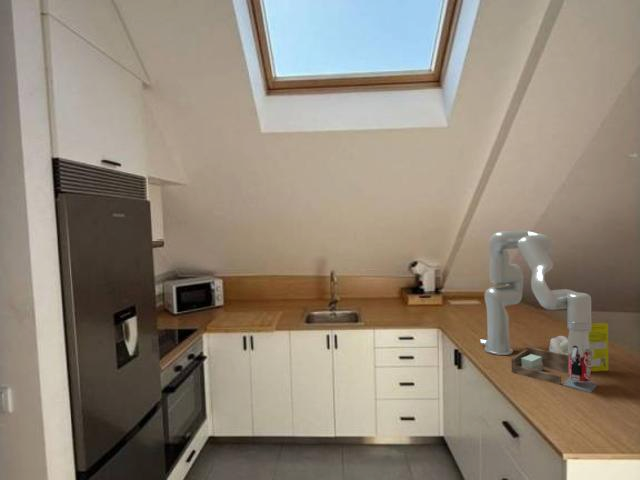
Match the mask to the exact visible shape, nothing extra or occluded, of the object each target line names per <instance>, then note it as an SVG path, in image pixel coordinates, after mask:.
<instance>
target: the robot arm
mask: <svg viewBox="0 0 640 480" xmlns="http://www.w3.org/2000/svg"><path fill="white" fill-rule="evenodd" d="M488 240H489V241H488V249H489V264H488V265H489V268H488V269H489V270H488V277H489V282H491V283H492V284H494V285H498V286H491V287H489V288H487V289H486V290H485V292H484V296H483V297H484V302H485V306H486V307H485V308H486V320H487V321H486V323H487V324H486V325H487V326H486V327H487V330H486V331H487V339H483V338H480V340H479V342H480V345H485V346H484V351H485V352H486V353H488V354H492V355H497V356H509V355H512V354H513V353H514V350H513V348H512V347H510V327H509V326H510V323H509V322H510V319H509V313H508V311H507V309H506V306H513V305H517V304H520V302H521V300H522V298H523V290H524V289H523V286H524V273H523V269H522V268H521V267H520V266H519V265H518V264H516V263H510V255H509V252H508V250H515V249H516V250H517V249H518V250H519V252H520V253H521V256H522V257H523V259H524V260H525V263H526V265H527V266H528V267H529V269H530V271H531V277H530V285H531V290H532V291H531V292H532V293H533V294H534V296H535V298H536V300H537V301H538V303H539V304H540V306H541V307H543V308H544V309H545V310H550V311H552V310H553V311H554V310H562V309H564V310H565V309H567V310H566V311H567V313H566V315H567V317H566V318H567V320H566V321H567V329H568V330H569V331H568V335H567V336H568V337H567V339H568V355H569V356H570V355H572V356H571V358H572V374H574V375H576V374H577V375H579V376H582V365H581V358H583V357H584V354H585V351H587V350H589V332H590V331H591V324H592V297H591V295H590V294H588V293H585V292H578V291H574V290H571V289H567V288H562V289H553V290H552V289H551V290H550V287H549V286H548V284H547V282H546V280H545V278H546V277H545V276H546V273H548V272H549V271H551V270H552V269H553V267H554V263H553V261H552V260H551V258H550V257H549V255H548V254H549V253H550V252H551V251H553V248H554V247H553V246H554V243H553V241H552V239H551V238H550V237H549V236H548V235H545V234H543V233H538V232H534V231H532V230H526V229H520V230H519V229H518V230H501V231H497V232H495V233H493V234H491V236H490V238H489V239H488ZM577 354H579V355H580V357H579V356H577ZM577 358H579V361H578V359H577Z"/></svg>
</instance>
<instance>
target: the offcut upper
mask: <svg viewBox="0 0 640 480" xmlns="http://www.w3.org/2000/svg"><path fill="white" fill-rule="evenodd" d="M540 364H542V357H540V356H537V355H533V354H530V355H528V356H526V357H523V358H521V365H522V366H526V367H529V368H534V367H536V366H538V365H540Z"/></svg>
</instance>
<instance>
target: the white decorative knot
mask: <svg viewBox="0 0 640 480" xmlns="http://www.w3.org/2000/svg"><path fill="white" fill-rule="evenodd" d="M549 342H550V344H549V347H548V351H551V352H556V353H561V354H566V355H568V337H566V336H564V335H558V336H556V337H552V338H551V339H550V341H549Z"/></svg>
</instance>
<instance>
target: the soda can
mask: <svg viewBox="0 0 640 480" xmlns="http://www.w3.org/2000/svg"><path fill="white" fill-rule="evenodd" d="M571 356H572V355H570V356H568V372H567V373H568V377H569V378H571V379H572V380H573V381H576V382H581V383H586V382H591V377H592V373H591V372H592V371H591V355H590V353H589V350H587V351H585V354H584V357H583V358H581V365H582V376H579V375H577V374H576V375H574V374H572V358H571ZM577 356H579V357H580V355H579V354H577ZM577 359H578V361H579V358H577Z"/></svg>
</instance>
